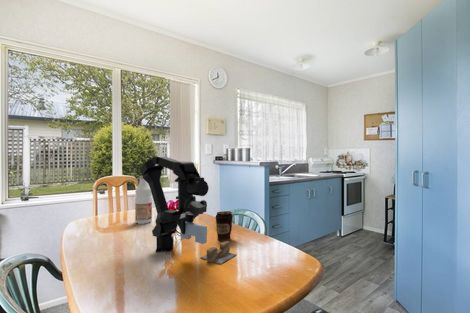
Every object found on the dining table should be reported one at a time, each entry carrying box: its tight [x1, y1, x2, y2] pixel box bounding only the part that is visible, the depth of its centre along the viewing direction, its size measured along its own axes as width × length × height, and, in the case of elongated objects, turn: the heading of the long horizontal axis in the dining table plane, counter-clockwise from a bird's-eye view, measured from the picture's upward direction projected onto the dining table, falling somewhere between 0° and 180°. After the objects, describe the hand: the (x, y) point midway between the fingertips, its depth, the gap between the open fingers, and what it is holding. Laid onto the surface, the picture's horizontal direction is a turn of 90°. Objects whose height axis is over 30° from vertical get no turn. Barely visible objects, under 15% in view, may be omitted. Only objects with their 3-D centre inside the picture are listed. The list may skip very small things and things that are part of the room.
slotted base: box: [200, 241, 237, 265], centre depth 97 cm, size 12×10×4 cm
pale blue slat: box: [179, 221, 208, 245], centre depth 94 cm, size 12×2×6 cm, turn 55°
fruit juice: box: [134, 175, 153, 225], centre depth 149 cm, size 9×9×28 cm
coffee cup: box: [215, 210, 234, 242], centre depth 118 cm, size 9×8×13 cm
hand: (185, 233), depth 96 cm, fingers closed on pale blue slat, 2 cm apart
